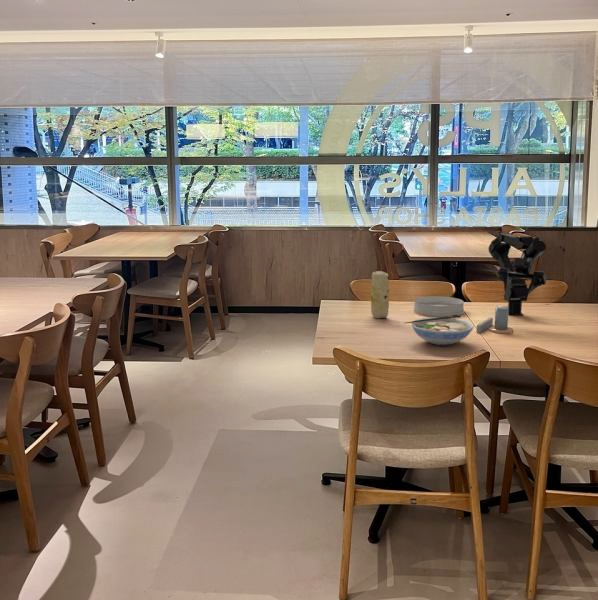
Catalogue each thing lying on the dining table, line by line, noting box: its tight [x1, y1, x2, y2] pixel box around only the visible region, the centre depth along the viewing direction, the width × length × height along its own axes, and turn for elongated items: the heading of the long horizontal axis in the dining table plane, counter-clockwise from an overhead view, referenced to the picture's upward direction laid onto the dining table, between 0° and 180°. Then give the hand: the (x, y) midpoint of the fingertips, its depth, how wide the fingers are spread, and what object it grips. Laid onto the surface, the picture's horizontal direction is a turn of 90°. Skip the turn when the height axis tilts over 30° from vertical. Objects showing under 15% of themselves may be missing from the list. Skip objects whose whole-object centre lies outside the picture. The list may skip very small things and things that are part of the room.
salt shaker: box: [494, 305, 509, 330], centre depth 268 cm, size 5×5×9 cm
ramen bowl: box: [404, 314, 475, 347], centre depth 250 cm, size 25×23×8 cm
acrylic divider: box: [476, 317, 494, 334], centre depth 272 cm, size 16×1×3 cm, turn 146°
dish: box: [413, 295, 465, 317], centre depth 305 cm, size 22×22×5 cm
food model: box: [370, 270, 390, 319], centre depth 293 cm, size 10×7×20 cm
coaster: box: [488, 325, 514, 334], centre depth 269 cm, size 9×9×1 cm
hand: (516, 292), depth 276 cm, fingers open, 9 cm apart
